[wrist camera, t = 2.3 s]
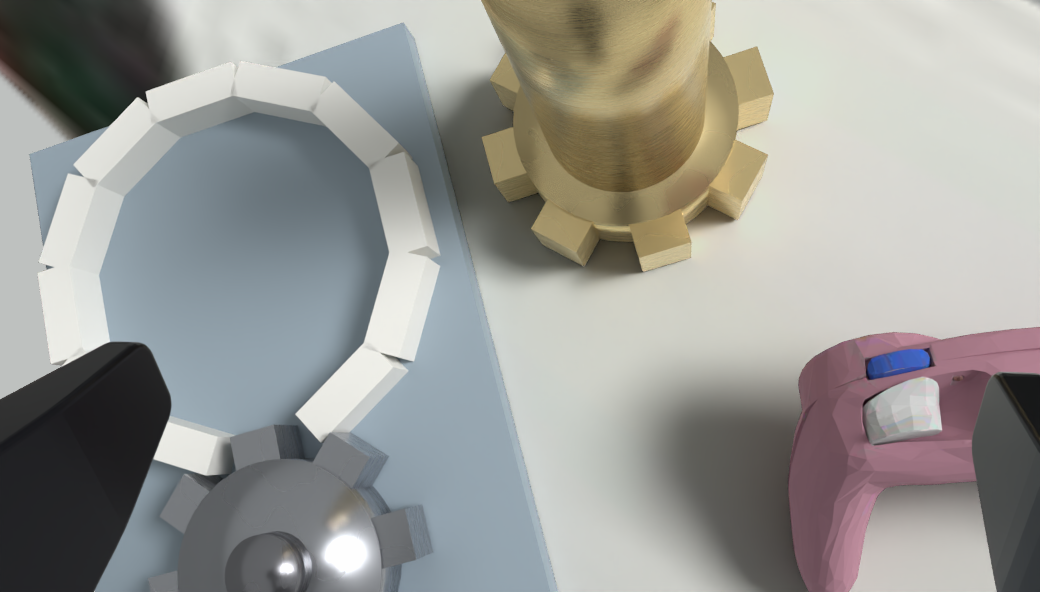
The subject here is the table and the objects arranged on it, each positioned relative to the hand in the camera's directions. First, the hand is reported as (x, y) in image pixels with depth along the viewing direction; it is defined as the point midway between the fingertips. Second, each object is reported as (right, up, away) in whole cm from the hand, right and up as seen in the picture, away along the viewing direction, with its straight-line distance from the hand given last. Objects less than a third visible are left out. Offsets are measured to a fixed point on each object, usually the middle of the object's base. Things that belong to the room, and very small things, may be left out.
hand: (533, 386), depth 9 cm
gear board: (-7, -1, +15) cm, 16 cm away
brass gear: (+3, +5, +14) cm, 15 cm away
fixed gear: (-6, -6, +13) cm, 15 cm away
